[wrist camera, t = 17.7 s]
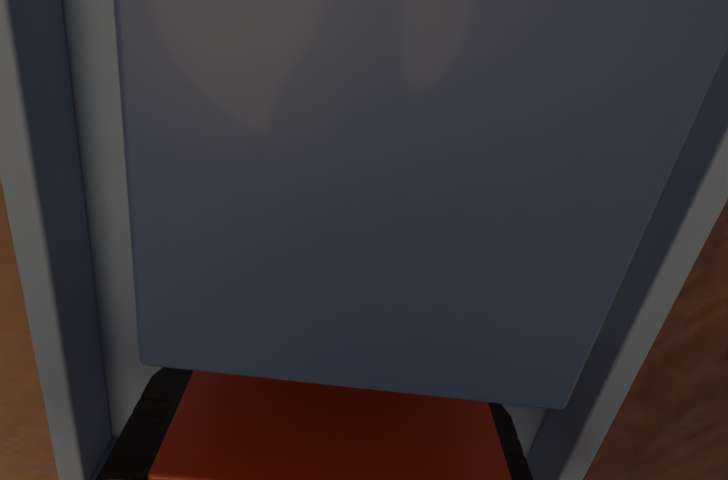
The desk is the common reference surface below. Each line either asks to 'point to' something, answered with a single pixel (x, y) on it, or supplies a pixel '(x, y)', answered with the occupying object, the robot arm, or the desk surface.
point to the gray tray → (114, 253)
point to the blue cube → (399, 182)
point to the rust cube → (324, 434)
